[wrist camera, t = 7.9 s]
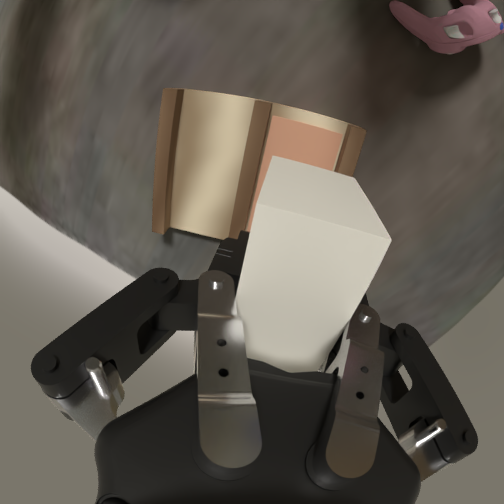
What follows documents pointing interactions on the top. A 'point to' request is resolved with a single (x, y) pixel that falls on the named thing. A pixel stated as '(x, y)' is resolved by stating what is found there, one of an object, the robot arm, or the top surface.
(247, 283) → the plug block
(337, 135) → the slot rack
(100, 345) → the robot arm
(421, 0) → the top surface
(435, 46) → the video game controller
